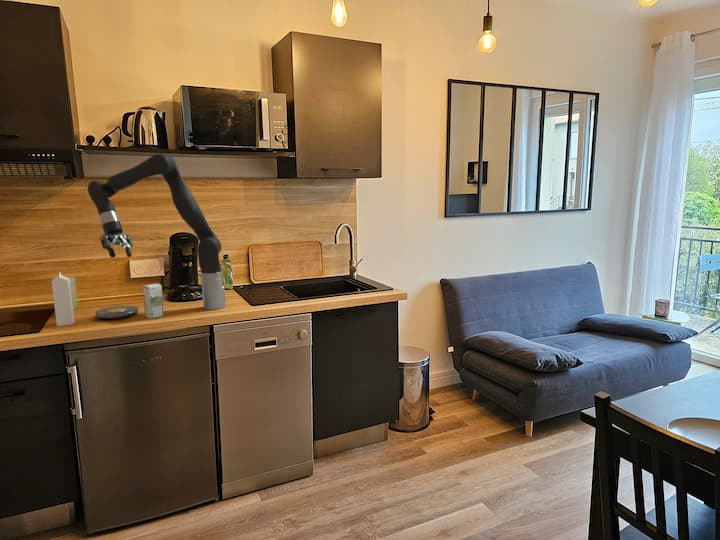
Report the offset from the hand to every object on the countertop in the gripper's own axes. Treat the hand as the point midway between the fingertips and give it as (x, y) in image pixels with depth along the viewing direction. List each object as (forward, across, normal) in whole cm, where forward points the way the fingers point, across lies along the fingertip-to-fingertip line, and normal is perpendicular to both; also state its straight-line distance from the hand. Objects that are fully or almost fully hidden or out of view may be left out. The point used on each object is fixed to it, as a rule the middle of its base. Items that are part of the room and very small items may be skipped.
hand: (121, 256), depth 217 cm
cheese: (+13, -7, +37) cm, 40 cm away
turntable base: (+24, -3, +11) cm, 26 cm away
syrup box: (+31, +3, -4) cm, 31 cm away
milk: (+22, -20, +21) cm, 36 cm away
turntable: (+23, -3, +10) cm, 25 cm away
